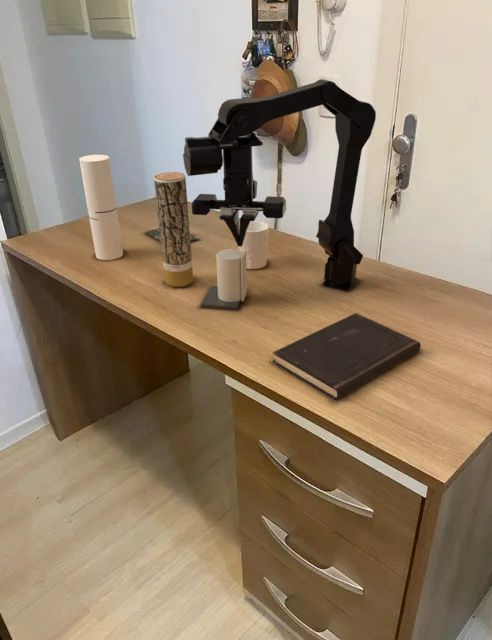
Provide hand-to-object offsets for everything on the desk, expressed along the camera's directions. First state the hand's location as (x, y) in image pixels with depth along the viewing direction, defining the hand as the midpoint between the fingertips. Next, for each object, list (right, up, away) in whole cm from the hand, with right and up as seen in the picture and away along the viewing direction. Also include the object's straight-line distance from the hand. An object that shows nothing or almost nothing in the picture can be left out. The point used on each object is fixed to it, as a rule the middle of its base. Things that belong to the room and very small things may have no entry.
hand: (240, 245), depth 118 cm
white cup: (+3, 0, +24) cm, 24 cm away
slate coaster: (-4, -10, +8) cm, 13 cm away
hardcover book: (+20, -24, -14) cm, 34 cm away
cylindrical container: (-36, +4, +31) cm, 47 cm away
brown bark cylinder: (-15, -6, +15) cm, 22 cm away
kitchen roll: (-2, -6, +4) cm, 7 cm away
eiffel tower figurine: (-21, +11, +42) cm, 48 cm away
